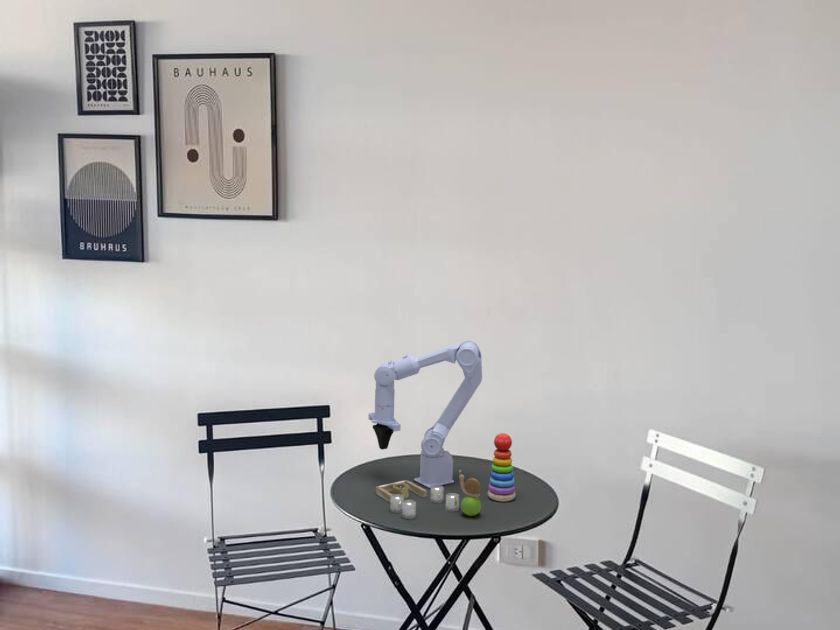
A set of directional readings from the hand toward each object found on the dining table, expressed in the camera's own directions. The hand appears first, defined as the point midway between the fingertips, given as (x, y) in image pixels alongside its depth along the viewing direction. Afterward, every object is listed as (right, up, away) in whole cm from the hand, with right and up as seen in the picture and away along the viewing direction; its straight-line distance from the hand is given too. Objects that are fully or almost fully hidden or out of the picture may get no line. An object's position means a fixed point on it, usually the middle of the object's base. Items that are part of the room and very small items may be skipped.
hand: (383, 448), depth 241 cm
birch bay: (+5, -11, -12) cm, 17 cm away
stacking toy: (+34, -12, -10) cm, 38 cm away
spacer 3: (+16, -12, -15) cm, 25 cm away
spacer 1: (+5, -13, -22) cm, 26 cm away
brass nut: (+5, -12, -12) cm, 17 cm away
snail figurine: (+24, -14, -24) cm, 37 cm away
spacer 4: (+20, -13, -20) cm, 31 cm away
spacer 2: (+8, -14, -26) cm, 31 cm away
